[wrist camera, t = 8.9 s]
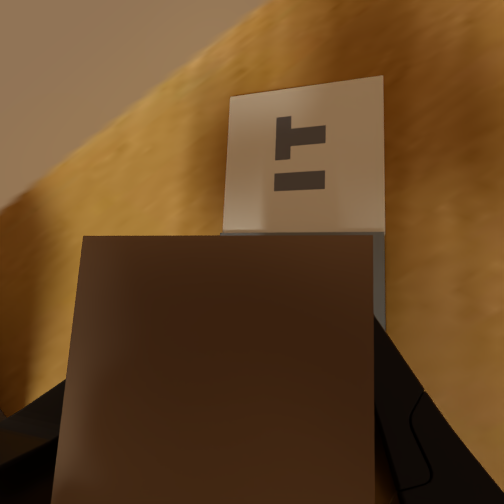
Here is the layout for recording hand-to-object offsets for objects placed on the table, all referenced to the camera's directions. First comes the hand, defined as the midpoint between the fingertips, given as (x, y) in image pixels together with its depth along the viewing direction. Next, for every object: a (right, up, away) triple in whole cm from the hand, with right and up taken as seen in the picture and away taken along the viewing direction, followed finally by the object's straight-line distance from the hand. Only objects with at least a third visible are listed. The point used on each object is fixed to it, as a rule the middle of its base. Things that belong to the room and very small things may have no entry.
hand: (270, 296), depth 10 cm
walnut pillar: (+2, -2, +6) cm, 7 cm away
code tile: (+3, +7, +9) cm, 12 cm away
